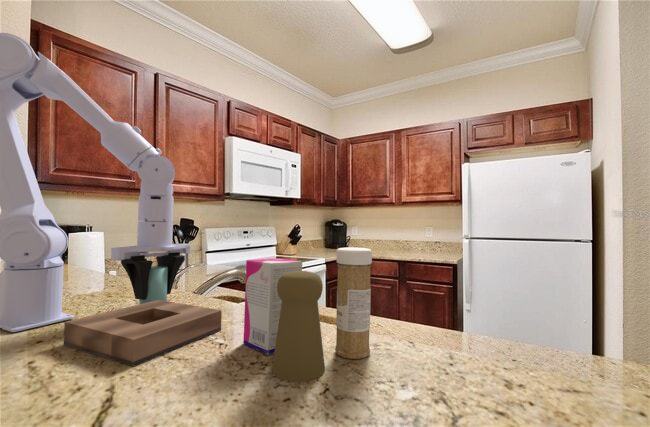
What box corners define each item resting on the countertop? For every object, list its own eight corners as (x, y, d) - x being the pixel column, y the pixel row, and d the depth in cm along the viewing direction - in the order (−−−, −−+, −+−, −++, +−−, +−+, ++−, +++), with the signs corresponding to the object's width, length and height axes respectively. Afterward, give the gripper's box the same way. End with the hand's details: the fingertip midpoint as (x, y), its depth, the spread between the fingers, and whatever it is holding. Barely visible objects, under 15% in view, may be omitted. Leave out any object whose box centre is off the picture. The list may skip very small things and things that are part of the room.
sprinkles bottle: (332, 346, 43) (334, 246, 44) (365, 346, 44) (367, 246, 44) (338, 361, 39) (339, 249, 39) (375, 360, 39) (376, 249, 40)
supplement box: (302, 343, 44) (303, 260, 45) (267, 356, 40) (269, 263, 40) (275, 333, 48) (277, 256, 49) (241, 343, 44) (243, 259, 44)
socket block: (63, 344, 42) (64, 321, 42) (158, 317, 55) (158, 299, 55) (133, 366, 36) (134, 339, 37) (221, 330, 49) (221, 310, 49)
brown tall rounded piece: (318, 385, 33) (320, 277, 33) (263, 378, 34) (265, 274, 35) (329, 360, 39) (331, 269, 39) (282, 355, 40) (283, 267, 40)
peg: (133, 313, 57) (134, 268, 58) (155, 307, 61) (156, 265, 62) (150, 316, 56) (151, 270, 56) (171, 310, 60) (173, 267, 60)
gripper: (131, 221, 51) (128, 308, 50) (202, 222, 64) (200, 291, 64) (104, 220, 54) (101, 302, 53) (177, 221, 67) (175, 287, 66)
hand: (153, 296), depth 59 cm, fingers closed on peg, 4 cm apart
